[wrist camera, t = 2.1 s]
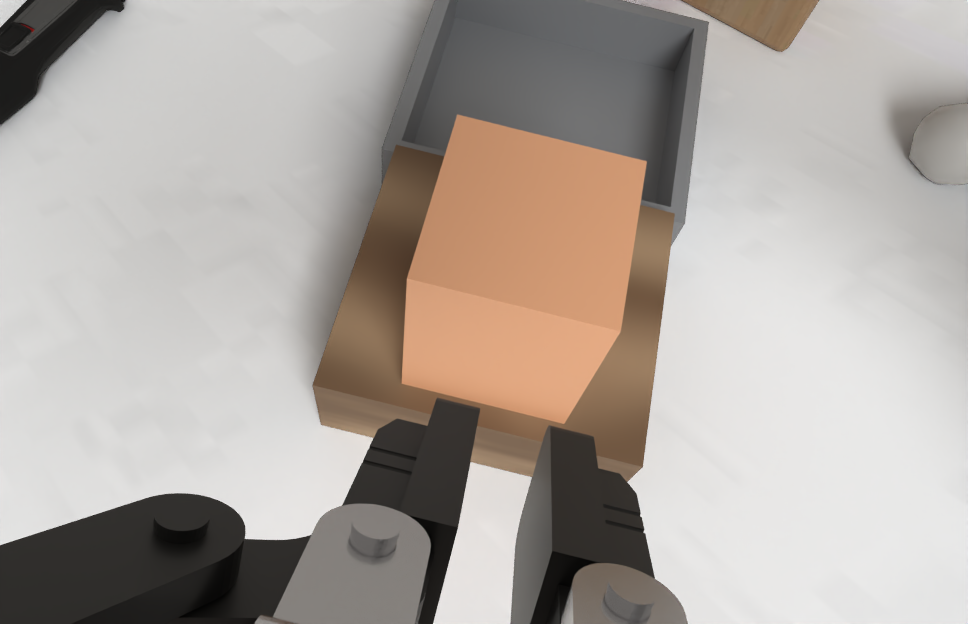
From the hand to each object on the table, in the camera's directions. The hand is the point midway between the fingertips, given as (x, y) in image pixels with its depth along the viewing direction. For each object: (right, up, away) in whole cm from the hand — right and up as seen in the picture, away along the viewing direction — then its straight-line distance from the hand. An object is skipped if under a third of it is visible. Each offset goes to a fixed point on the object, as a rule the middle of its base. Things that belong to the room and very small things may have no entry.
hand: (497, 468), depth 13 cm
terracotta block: (0, +2, +22) cm, 22 cm away
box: (+3, +13, +34) cm, 37 cm away
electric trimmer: (-26, +16, +32) cm, 44 cm away
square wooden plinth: (0, +1, +28) cm, 28 cm away
